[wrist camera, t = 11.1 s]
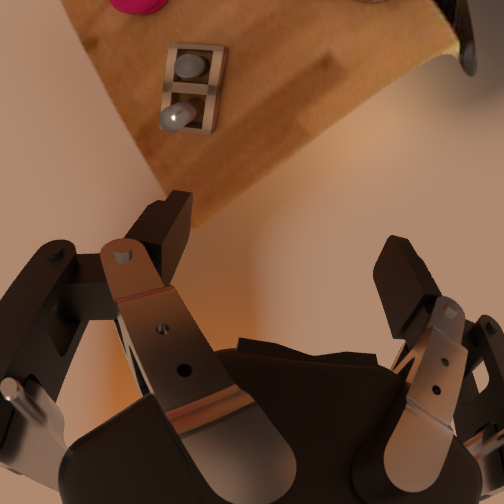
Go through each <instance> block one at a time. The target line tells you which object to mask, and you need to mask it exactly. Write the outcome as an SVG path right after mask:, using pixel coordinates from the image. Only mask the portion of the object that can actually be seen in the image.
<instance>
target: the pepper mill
mask: <svg viewBox="0 0 504 504" xmlns="http://www.w3.org/2000/svg"><path fill="white" fill-rule="evenodd" d="M109 1H110V3H111V4H112V5H113V7H114V8H115V9H117V10H119V11H121V12H123V13H127V14H136V13H138V14H150V13H153V12H155V11H157V10H159V9H160V8H161V7H162V6H164V5H165V3H166V2H167V0H109Z"/></svg>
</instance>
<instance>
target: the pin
mask: <svg viewBox="0 0 504 504" xmlns="http://www.w3.org/2000/svg"><path fill="white" fill-rule="evenodd" d="M203 111H204V103H203V101H202V100H201V99H199V98H197V97H191V98H188V99H186V100H183V101H181V102H178V103H176V104H173V105H171V106H169V107H166V108H165V109H163V110H162V111H161V113H160V115H159V123H160V126H161V127H162V128H163V129H164V130H165V131H167V132H176V131H178V130H180V129H181V128H183V127H184V126H185V125H187V124H188V123H190V122H191V121H193V120H194V119H195V118H197V117H198V116H200V115H201V114H202V113H203Z"/></svg>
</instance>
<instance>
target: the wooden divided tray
mask: <svg viewBox="0 0 504 504" xmlns="http://www.w3.org/2000/svg"><path fill="white" fill-rule="evenodd" d="M185 50H197V51H210V52H213V57H212V63H211V69H210V63H209V61H208V59H206V58H205V57H202V56H197V55H190V54H184V53H185ZM227 51H228V48H226V47H224V46H213V45H200V44H179V43H169V48H168V55H167V62H166V70H165V78H164V86H163V96H162V106H161V111H162V110H163V109H165V108H166V107H169V106H171V105H173V104H176V103H178V97H179V93H189V94H200V95H206V102H205V110H204V117H203V124H201V123H193V122H190V123H188V124H187V125H185V126H184V127H183V128H181V129H180V130H178V132H187V133H196V134H204V135H211V134H212V133H213V132H214V131H215V127H216V120H217V113H218V106H219V100H220V93H221V87H222V81H223V75H224V69H225V63H226V57H227ZM209 69H210V75H209V82H208V83H204V82H192V81H181V77H182V78H191V77H199V76H203V75H205V74H206V73H207V72H208V71H209ZM159 130H164V129H163V128H162V127H161V126H160V129H159Z"/></svg>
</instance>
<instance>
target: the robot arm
mask: <svg viewBox="0 0 504 504" xmlns="http://www.w3.org/2000/svg"><path fill="white" fill-rule="evenodd" d="M357 1H360V2H364V3H379V2H382V1H385V0H357ZM192 202H193V194H192V193H190V192H184V191H178V190H173V191H172V192H171V193H170V195H169V196H168V198H167V199H166V200H165V201H161V200H157V201H155V202H153V203H152V204H150V205H148V206H147V208H146V209H145V210H144V211H143V213H142V214H141V215H140V217H139V218H138V220H137V221H136V222H135V223H134V225H133V226H132V227H131V229H130V230H129V231H128V233H127V234H126V235H125V237H124V238H121V239H116V240H113V241H111V242H109V243H107V244H106V245H104V246H103V248H102V249H101V251H100V253H98V254H77V253H76V248H75V245H74V244H73V243H72V242H70V241H67V240H54V241H51V242H48V243H46V244H44V245H43V246H41V247H40V248H39V249H38V250H37V252H36V253H35V254H34V255H33V257H32V258H31V259H30V261H29V262H28V263H27V264H26V266H25V267H24V268H23V269H22V271H21V272H20V274H19V275H18V276H17V278H16V279H15V280H14V282H13V283H12V284H11V286H10V287H9V289H8V290H7V291H6V293H5V294H4V296H3V297H2V299H1V300H0V467H2V468H6V469H8V470H10V471H12V472H14V473H16V474H20V475H25V476H27V477H29V478H31V479H33V480H35V481H37V482H39V483H41V484H43V485H45V486H47V487H49V488H52V489H54V490H56V491H58V492H60V496H61V499H62V503H63V504H479V501H482V500H484V499H487V498H489V497H491V496H494V495H496V494H498V493H500V492H502V491H504V333H503V331H502V329H501V327H500V326H499V324H498V323H497V322H496V321H495V320H494V319H493V318H491V317H490V316H488V315H482V316H481V317H480V318H479V319H478V321H477V322H476V323H473V322H471V321H469V320H466V319H465V313H464V312H463V309H462V308H461V307H460V305H459V304H458V303H457V302H456V301H454V300H453V299H451V298H449V297H446V296H442V294H441V292H440V290H439V288H438V286H437V285H436V283H435V281H434V279H433V278H432V277H431V274H430V272H429V271H428V268H427V267H426V265H425V263H424V261H423V260H422V259H421V258H420V257H419V256H418V255H417V253H416V252H415V250H414V248H413V247H412V245H411V243H410V242H409V240H408V239H406V238H402V237H398V236H394V235H391V236H390V237H389V238H388V239H387V241H386V243H385V245H384V247H383V249H382V252H381V253H380V256H379V257H378V260H377V262H376V264H375V266H374V270H373V279H374V282H375V285H376V287H377V290H378V293H379V296H380V299H381V302H382V305H383V308H384V311H385V314H386V317H387V320H388V324H389V327H390V330H391V334H392V337H393V339H405V341H406V342H405V343H404V344H403V345H402V347H401V348H400V350H399V352H398V354H397V356H396V358H395V360H394V362H393V364H392V366H391V368H390V370H389V369H387V368H385V367H383V366H380V365H378V362H377V358H376V354H369V353H355V352H340V353H333V354H326V355H319V356H312V355H308V354H305V353H302V352H299V351H296V350H293V349H290V348H288V347H285V346H282V345H279V344H276V343H271V342H264V341H257V340H251V339H245V338H239V339H238V343H237V348H230V349H223V350H218V351H215V352H214V351H213V349H212V348H211V346H210V344H209V343H208V341H207V340H206V338H205V337H204V335H203V333H202V332H201V330H200V329H199V327H198V325H197V324H196V322H195V320H194V319H193V317H192V316H191V314H190V312H189V311H188V309H187V307H186V306H185V304H184V302H183V300H182V299H181V297H180V295H179V294H178V292H177V290H176V289H175V287H174V286H172V285H170V282H171V280H172V277H173V275H174V273H175V271H176V268H177V266H178V263H179V261H180V259H181V256H182V254H183V251H184V249H185V247H186V245H187V242H188V238H189V234H190V226H191V213H192ZM89 320H113V323H114V325H115V328H116V331H117V334H118V337H119V340H120V342H121V345H122V348H123V350H124V353H125V355H126V358H127V361H128V363H129V366H130V368H131V372H132V374H133V377H134V380H135V382H136V385H137V387H138V389H139V392H140V394H141V396H142V398H140V399H139V400H137V401H136V402H134V403H133V404H132V405H130V406H129V407H127V408H125V409H124V410H122V411H121V412H119V413H118V414H116V415H115V416H113V417H112V418H110V419H109V420H107V421H106V422H105V423H103V424H101V425H100V426H98V427H96V428H95V429H93V430H92V431H90V432H89V433H87V434H85V435H84V436H82V437H81V438H79V439H78V440H77V441H75V442H74V443H73V444H72V445H71V446H70V447H69V448H68V449H67V447H66V445H65V442H64V438H63V432H64V417H63V414H62V412H61V410H60V409H59V407H58V406H57V405H56V404H55V403H56V400H57V397H58V395H59V392H60V389H61V387H62V384H63V381H64V379H65V376H66V374H67V371H68V369H69V366H70V364H71V361H72V359H73V356H74V354H75V352H76V349H77V347H78V345H79V342H80V340H81V337H82V335H83V333H84V331H85V329H86V326H87V324H88V322H89ZM483 360H484V363H485V366H486V368H487V371H488V374H489V383H488V385H487V387H486V388H485V389H484V390H483V391H482V392H481V393H480V394H479V392H478V389H477V385H476V382H475V379H474V376H473V373H472V371H473V370H474V369H475V368H476V367H477V366H478V365H479V364H480V363H481V362H482V361H483ZM452 417H453V419H454V424H455V429H456V434H457V437H456V436H455V435H454V434H453V430H452V428H451V421H452Z"/></svg>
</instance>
